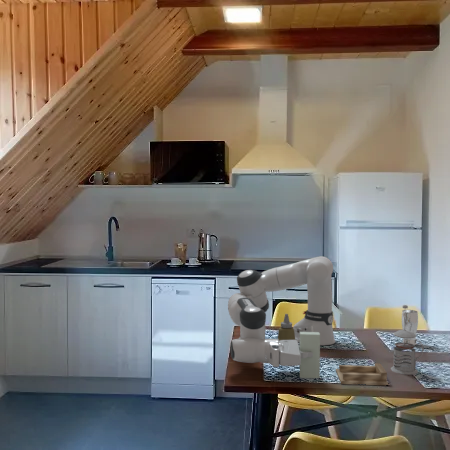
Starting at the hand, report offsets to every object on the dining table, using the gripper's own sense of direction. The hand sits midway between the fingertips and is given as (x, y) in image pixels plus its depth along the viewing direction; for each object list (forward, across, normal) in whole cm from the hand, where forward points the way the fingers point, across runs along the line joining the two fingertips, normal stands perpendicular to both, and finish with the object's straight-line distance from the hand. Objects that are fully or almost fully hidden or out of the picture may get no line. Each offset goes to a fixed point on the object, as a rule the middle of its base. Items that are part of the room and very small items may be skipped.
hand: (312, 352), depth 174 cm
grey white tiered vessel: (+36, -10, -9) cm, 39 cm away
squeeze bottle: (-8, -22, -9) cm, 25 cm away
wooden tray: (+18, 0, -9) cm, 20 cm away
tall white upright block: (-1, 0, -9) cm, 9 cm away
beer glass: (+48, -48, -9) cm, 68 cm away
